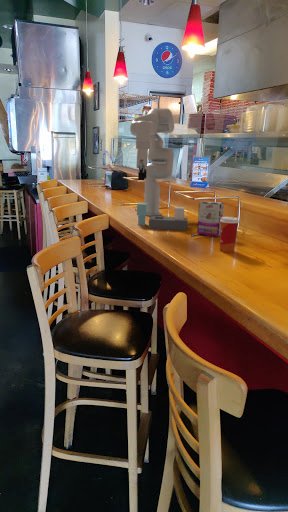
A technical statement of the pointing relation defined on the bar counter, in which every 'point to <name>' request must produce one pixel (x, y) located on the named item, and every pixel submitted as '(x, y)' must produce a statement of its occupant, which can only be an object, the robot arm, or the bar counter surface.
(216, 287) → the bar counter surface
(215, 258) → the bar counter surface
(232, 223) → the paper cup
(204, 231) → the candy bar box
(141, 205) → the teal plug
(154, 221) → the block
